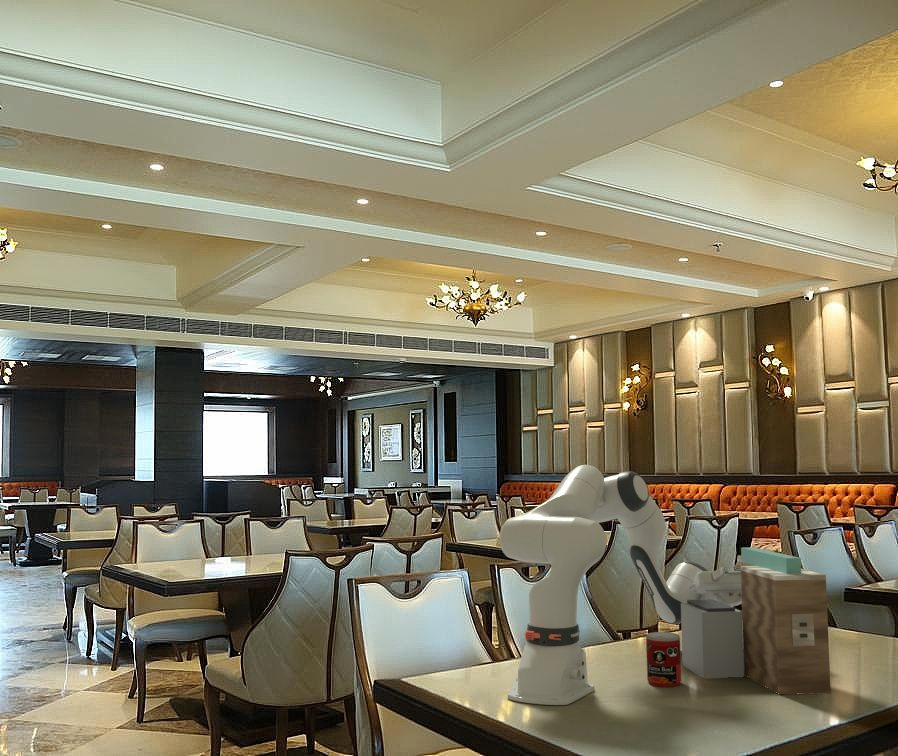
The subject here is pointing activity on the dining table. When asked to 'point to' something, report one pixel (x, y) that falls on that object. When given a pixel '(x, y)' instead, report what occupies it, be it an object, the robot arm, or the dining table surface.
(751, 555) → the long teal bar
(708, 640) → the phone dock
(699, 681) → the dining table surface
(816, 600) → the stand
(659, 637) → the canned food
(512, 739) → the dining table surface
